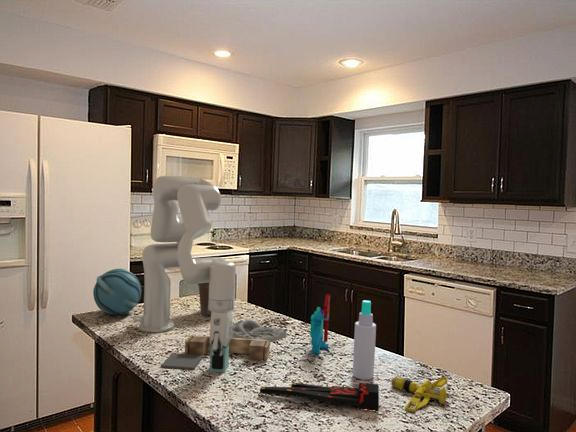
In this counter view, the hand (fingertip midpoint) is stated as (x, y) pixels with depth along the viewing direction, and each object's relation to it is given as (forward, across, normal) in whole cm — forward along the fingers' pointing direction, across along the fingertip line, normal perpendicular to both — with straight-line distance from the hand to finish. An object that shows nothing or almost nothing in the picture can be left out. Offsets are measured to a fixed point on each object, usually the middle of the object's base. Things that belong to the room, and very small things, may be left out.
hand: (219, 364), depth 131 cm
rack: (+1, +11, 0) cm, 11 cm away
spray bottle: (+1, +2, -42) cm, 42 cm away
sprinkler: (+2, -9, -55) cm, 56 cm away
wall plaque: (+2, +34, -3) cm, 34 cm away
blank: (+1, 0, 0) cm, 1 cm away
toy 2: (+1, +21, -29) cm, 36 cm away
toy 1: (+1, +48, +54) cm, 72 cm away
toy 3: (+2, -14, -29) cm, 33 cm away
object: (+1, +59, +16) cm, 61 cm away
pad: (+1, +3, +12) cm, 12 cm away
